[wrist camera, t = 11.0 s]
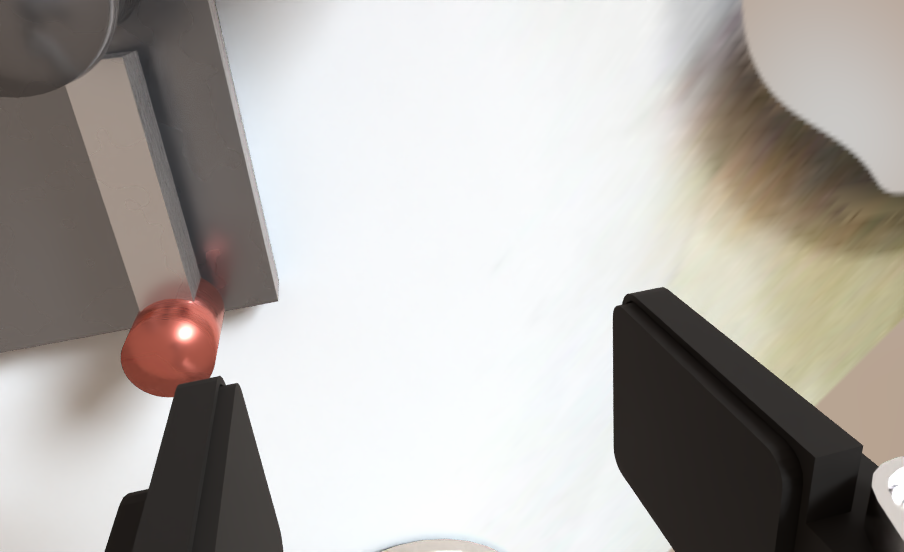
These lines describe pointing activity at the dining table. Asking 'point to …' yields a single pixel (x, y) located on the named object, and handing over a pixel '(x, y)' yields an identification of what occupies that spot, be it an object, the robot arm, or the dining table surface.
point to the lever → (147, 229)
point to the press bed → (72, 177)
